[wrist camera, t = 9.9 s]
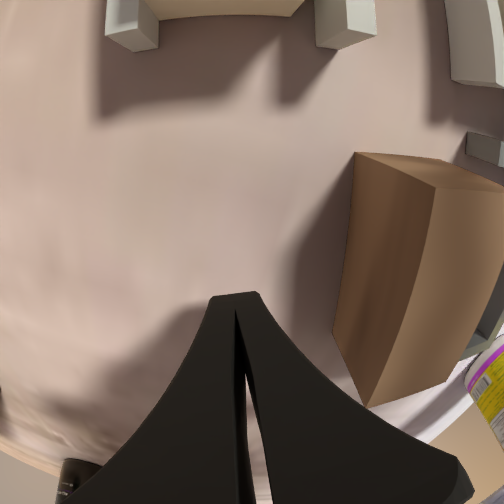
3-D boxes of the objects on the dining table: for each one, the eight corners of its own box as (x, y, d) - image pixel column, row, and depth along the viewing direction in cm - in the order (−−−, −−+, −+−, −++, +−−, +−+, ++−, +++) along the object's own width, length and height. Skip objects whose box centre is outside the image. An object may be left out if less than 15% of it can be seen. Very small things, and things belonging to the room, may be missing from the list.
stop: (528, 152, 9) (554, 163, 8) (474, 329, 15) (489, 348, 13) (467, 131, 9) (501, 140, 7) (409, 349, 14) (425, 374, 13)
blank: (437, 158, 10) (521, 195, 6) (402, 317, 13) (445, 381, 9) (352, 151, 9) (435, 187, 5) (331, 330, 13) (365, 409, 9)
